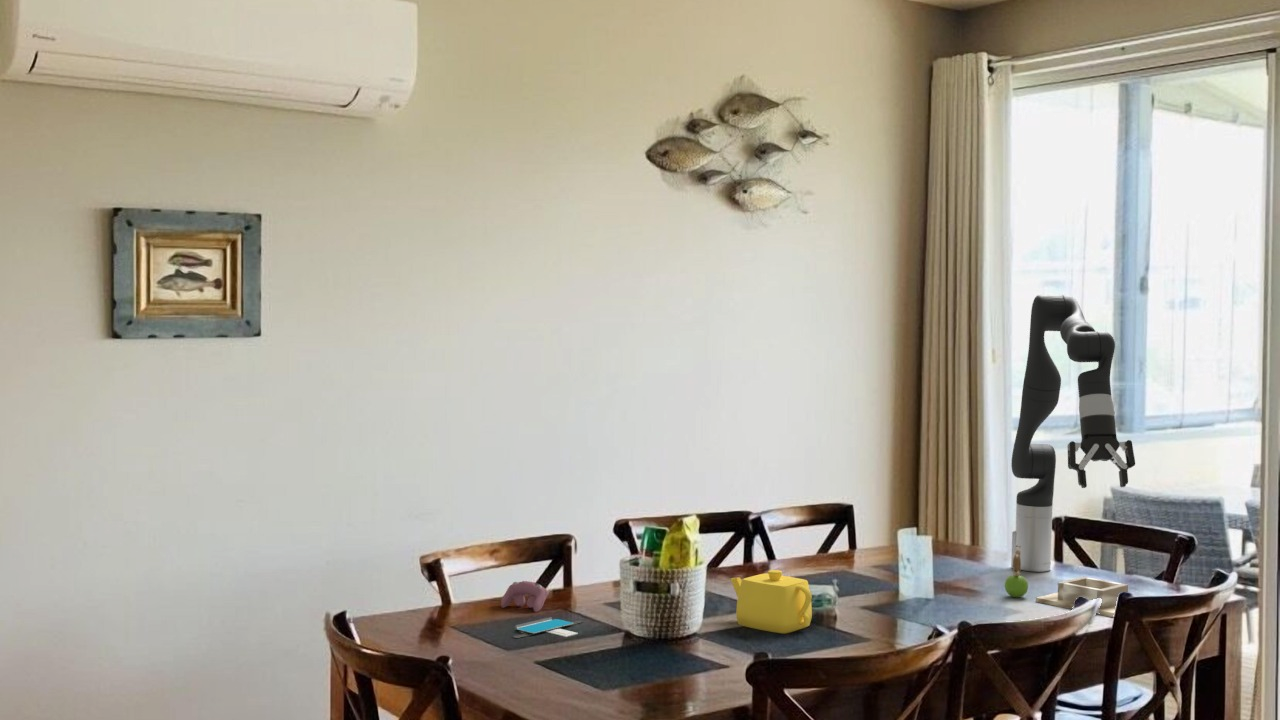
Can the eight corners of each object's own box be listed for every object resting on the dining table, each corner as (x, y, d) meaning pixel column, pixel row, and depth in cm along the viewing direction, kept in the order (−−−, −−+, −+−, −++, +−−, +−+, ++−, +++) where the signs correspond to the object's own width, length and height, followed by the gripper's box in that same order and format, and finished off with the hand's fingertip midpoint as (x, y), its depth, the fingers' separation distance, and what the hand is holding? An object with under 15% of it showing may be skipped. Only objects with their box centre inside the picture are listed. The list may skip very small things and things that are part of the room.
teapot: (715, 621, 294) (716, 567, 293) (748, 612, 303) (749, 560, 303) (793, 637, 281) (795, 581, 280) (825, 627, 291) (826, 572, 290)
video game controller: (545, 616, 302) (552, 586, 304) (536, 611, 298) (543, 580, 300) (506, 611, 306) (514, 581, 308) (497, 606, 302) (505, 575, 304)
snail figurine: (1028, 595, 327) (1030, 545, 326) (1027, 600, 321) (1028, 550, 320) (1005, 593, 329) (1006, 544, 328) (1003, 598, 322) (1005, 548, 322)
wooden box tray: (1035, 601, 319) (1036, 580, 319) (1072, 593, 330) (1072, 572, 330) (1114, 617, 305) (1115, 595, 304) (1149, 607, 315) (1150, 586, 315)
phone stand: (537, 646, 271) (537, 638, 271) (496, 636, 279) (496, 628, 279) (604, 629, 286) (604, 621, 286) (563, 620, 294) (563, 612, 294)
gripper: (1124, 419, 311) (1131, 489, 307) (1061, 420, 312) (1067, 490, 308) (1133, 412, 304) (1140, 483, 299) (1068, 413, 305) (1074, 485, 301)
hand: (1103, 487), depth 304 cm, fingers open, 8 cm apart
